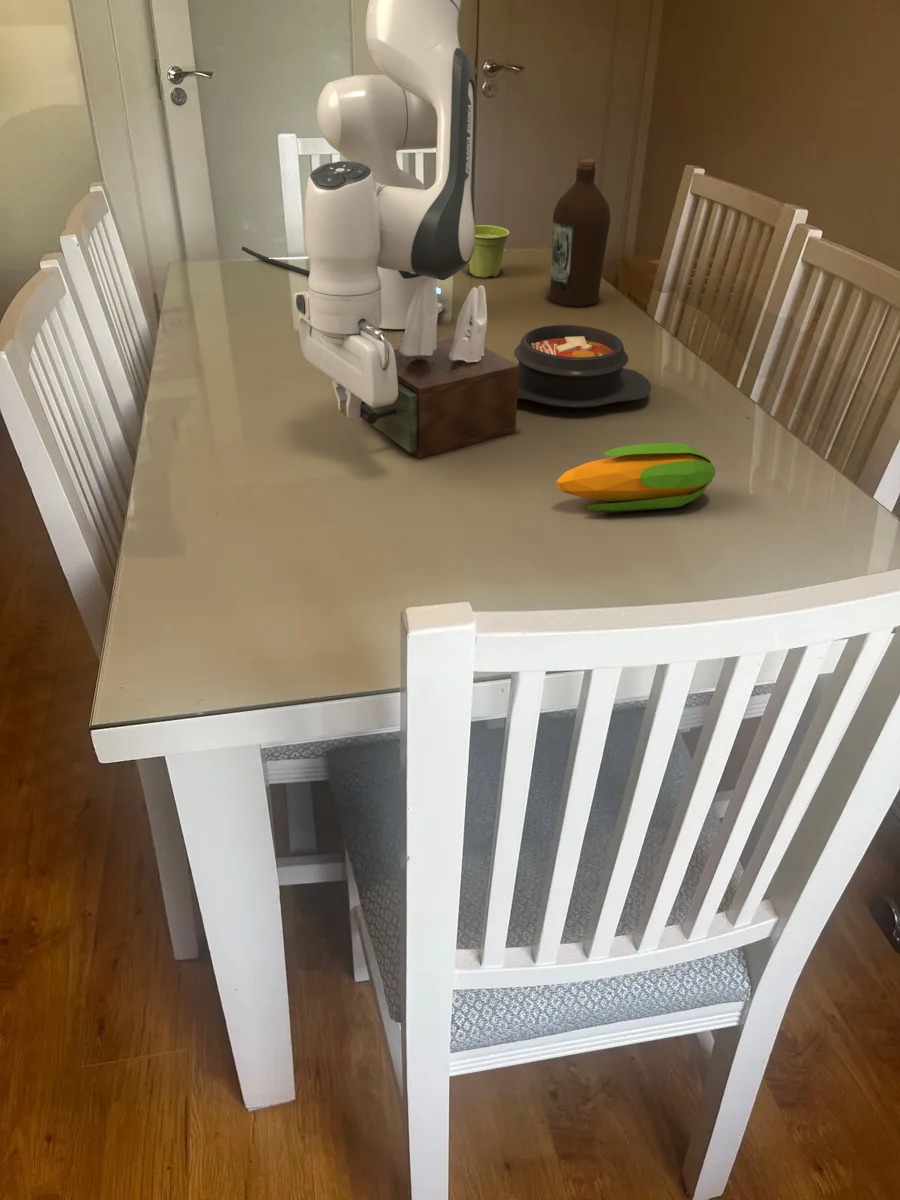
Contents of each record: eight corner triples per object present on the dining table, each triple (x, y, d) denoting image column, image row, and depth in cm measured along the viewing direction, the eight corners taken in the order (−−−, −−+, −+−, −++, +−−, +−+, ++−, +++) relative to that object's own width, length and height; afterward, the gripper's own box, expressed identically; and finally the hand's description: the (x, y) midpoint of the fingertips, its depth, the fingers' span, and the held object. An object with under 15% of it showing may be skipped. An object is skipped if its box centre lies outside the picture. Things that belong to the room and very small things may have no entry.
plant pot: (512, 270, 194) (514, 227, 189) (499, 282, 187) (502, 238, 182) (470, 265, 197) (471, 223, 192) (456, 277, 189) (457, 233, 184)
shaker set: (399, 367, 121) (398, 283, 115) (396, 356, 125) (395, 273, 118) (488, 364, 123) (492, 280, 117) (483, 353, 126) (486, 271, 120)
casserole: (486, 417, 133) (488, 361, 128) (485, 369, 148) (487, 317, 143) (658, 421, 132) (667, 365, 127) (640, 373, 147) (647, 322, 143)
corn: (732, 453, 107) (569, 465, 103) (722, 512, 111) (564, 525, 107) (705, 430, 113) (550, 441, 110) (696, 487, 117) (546, 499, 114)
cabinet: (419, 458, 121) (419, 389, 116) (369, 421, 131) (366, 355, 125) (515, 432, 129) (519, 365, 123) (460, 399, 138) (462, 335, 132)
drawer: (380, 460, 119) (379, 403, 114) (335, 425, 127) (332, 371, 123) (499, 428, 127) (502, 374, 123) (449, 397, 136) (450, 345, 131)
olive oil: (583, 289, 184) (596, 153, 170) (611, 304, 176) (628, 163, 162) (537, 295, 181) (546, 156, 166) (563, 311, 173) (576, 167, 158)
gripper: (410, 330, 107) (410, 438, 115) (331, 285, 121) (336, 385, 129) (363, 338, 104) (366, 449, 112) (287, 291, 118) (295, 393, 126)
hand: (349, 414), depth 120 cm, fingers closed, pressing on drawer
